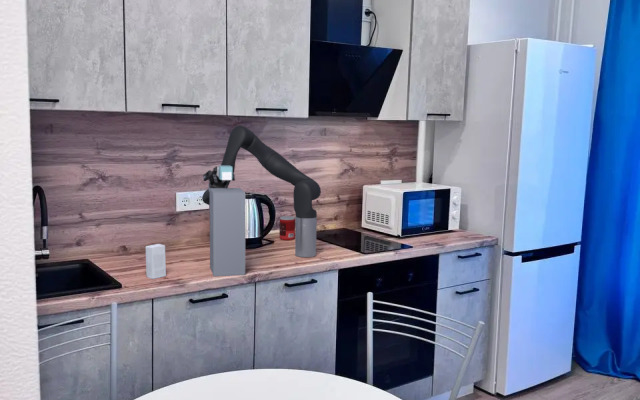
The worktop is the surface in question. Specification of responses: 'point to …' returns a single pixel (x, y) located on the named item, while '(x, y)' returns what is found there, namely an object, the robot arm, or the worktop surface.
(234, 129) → the robot arm
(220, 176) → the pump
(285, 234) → the canned food
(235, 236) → the stand
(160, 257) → the skincare box
